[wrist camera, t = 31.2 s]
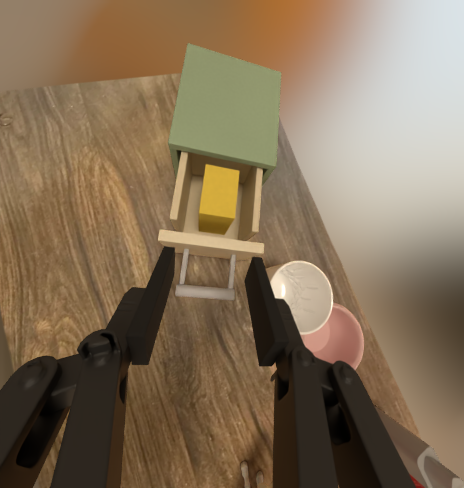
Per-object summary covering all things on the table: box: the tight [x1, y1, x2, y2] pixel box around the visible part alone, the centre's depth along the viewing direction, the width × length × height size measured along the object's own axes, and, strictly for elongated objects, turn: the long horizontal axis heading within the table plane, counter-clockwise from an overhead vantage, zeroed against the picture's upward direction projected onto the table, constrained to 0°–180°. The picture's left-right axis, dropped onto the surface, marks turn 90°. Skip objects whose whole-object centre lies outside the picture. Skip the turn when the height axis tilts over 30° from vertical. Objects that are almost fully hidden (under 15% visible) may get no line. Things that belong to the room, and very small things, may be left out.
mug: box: [301, 302, 364, 370], centre depth 26 cm, size 12×10×6 cm
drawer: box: [158, 151, 264, 301], centre depth 24 cm, size 19×11×9 cm, turn 174°
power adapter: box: [374, 406, 464, 488], centre depth 23 cm, size 3×5×12 cm, turn 25°
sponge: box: [199, 164, 240, 235], centre depth 24 cm, size 4×6×8 cm, turn 174°
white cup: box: [266, 261, 333, 335], centre depth 24 cm, size 8×8×10 cm
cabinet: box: [168, 43, 281, 186], centre depth 27 cm, size 15×13×11 cm
